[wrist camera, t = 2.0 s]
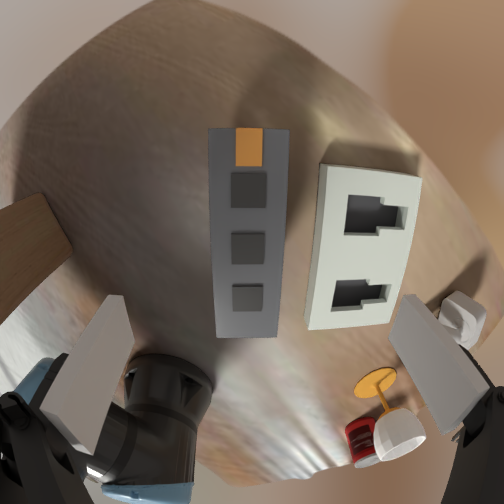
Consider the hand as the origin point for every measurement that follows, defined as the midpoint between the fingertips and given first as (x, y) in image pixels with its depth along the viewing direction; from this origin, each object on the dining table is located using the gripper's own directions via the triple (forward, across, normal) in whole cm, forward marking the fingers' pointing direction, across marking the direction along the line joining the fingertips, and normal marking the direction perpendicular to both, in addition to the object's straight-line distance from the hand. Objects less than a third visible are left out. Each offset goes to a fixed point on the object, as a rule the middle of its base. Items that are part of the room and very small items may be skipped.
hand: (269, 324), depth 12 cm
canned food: (+20, +27, -49) cm, 60 cm away
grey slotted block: (+19, -1, 0) cm, 19 cm away
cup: (+20, +25, -32) cm, 45 cm away
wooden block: (+20, -30, -3) cm, 36 cm away
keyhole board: (+20, +13, -4) cm, 24 cm away
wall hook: (+20, +32, -16) cm, 41 cm away
